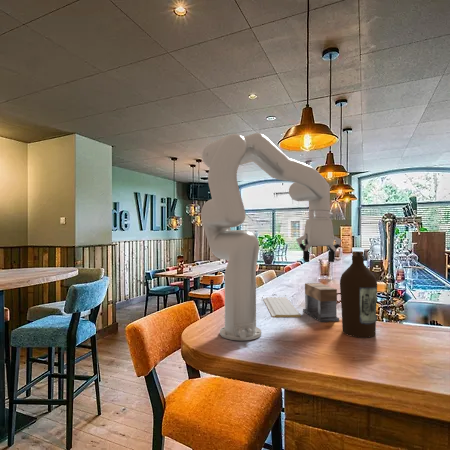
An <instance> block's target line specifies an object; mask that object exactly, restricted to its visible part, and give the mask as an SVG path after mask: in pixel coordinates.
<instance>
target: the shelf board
mask: <svg viewBox="0 0 450 450" xmlns="http://www.w3.org/2000/svg"><path fill="white" fill-rule="evenodd" d="M337 293H338V289H336V288H334V287H331V286H329V285H326V284H324V283H320V282H311V283H308V282H307V283H304V294H307V295H309V296H311V297H313V298H315V299H317V300H319V301H337V300H338V295H337Z"/></svg>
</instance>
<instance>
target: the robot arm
mask: <svg viewBox="0 0 450 450" xmlns="http://www.w3.org/2000/svg"><path fill="white" fill-rule="evenodd" d="M201 159H202V161H203V163H204V165H206V167H207V168H209V170H208V176H207V182H208V187H209V191H210V195H211V199H209V200H207V201H206V202H205V203H203V205H202V208H201V211H200V212H201V213H200V220H201V223H202V226H203V230H204V234H205V237H206V240H207V244H208V247H209V249H210V252H211V253H212V254H213V256H215V258H218V259H220V260H224V261H228V262H227V265H226V268H225V272H224V326H223V327H221V328H220V329H219V335H220V337H222V338H223V339H227V340H230V341H240V342H241V341H252V340H256V339H259V338H260V337H261V336H262V330H261V328H259V327H257V264H258V263H257V262H258V258H259V251H260V242H259V240H258V238H257V236H256V235H255V234H254V233H253V232H251V231H248V230H243V229H238V230H237V229H235V230H234V229H231V228H236V227H239V226H241V225H242V224H243V223H244V222H245V219H246V209H245V206H244V203H243V198H242V195H241V191H240V188H239V183H238V169H239V166H240V165H245V164H248V163H255V165H257V166H258V167H259V168H260V169H262V170H263V171H264V172H265V173H266V174H267V175H268V176H270V177H271V178H272V179H275V180H280V181H286V182H293V183H292V184H291V185H289V188H288V194H289V197H290V198H291V199H292V200H294V201H296V202H308V219H306V221H305V226H304V232H303V233H304V235H301V236H299V237H297V238H296V240H295V241H296V243H297V245H298V247H299V248H300V249H301V251H303V252H302V253H303V254H302V259H303V261H304V262H305V263H310V251H309V250H310V248H311V247H327V248H328V258H327V259H328V262H330V263H335V259H336V251H337V250H338V248H339V247H340V245H341V243H342V239H341V238H340V237H337V236H336V235H334V227H333V226H334V225H333V221H332V219H331V218H332V217H333V216H334V213H333V212H331V208H330V205H331V203H330V202H331V198H330V197H331V196H330V195H331V193H330V191H331V186H330V184H329V183H328V182H327V180H326V179H325V178H324V176H323V175H322V174H321V173H320V172H319V171H318V170H317V169H315V168H314V167H312V166H311V165H308V164H306V163H304V162H301V161H298V160H296V159H293V158H289V157H288V156H287V154H285V152H283V151H282V150H281V149H280V148H279V147H278V146H276V144H274V143H273V141H271V140H270V139H269V137H267V136H266V135H264V134H263V133H260V132H258V133H257V132H255V133H251V134H249V135H245V136H243V135H241V134H239V133H231V134H228V135H225V136H222V137H220V138H219V139H218V138H217V139H216V140H214V141H211V142H210V143H208V144H206V145H205V146H204V147H203V149H202V153H201ZM302 241H303V242H302ZM334 242H335V243H334Z"/></svg>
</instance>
